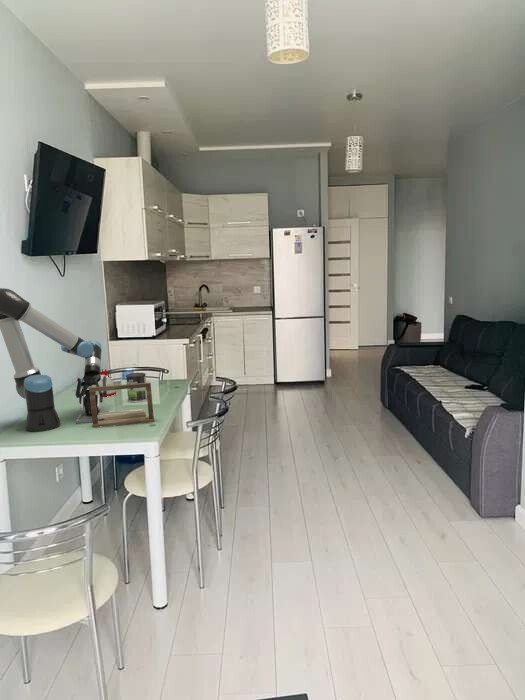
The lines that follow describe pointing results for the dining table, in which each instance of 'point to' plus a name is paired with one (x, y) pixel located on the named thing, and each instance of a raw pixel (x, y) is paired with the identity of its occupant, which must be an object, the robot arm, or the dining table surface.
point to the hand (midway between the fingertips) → (90, 408)
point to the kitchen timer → (108, 383)
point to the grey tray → (85, 418)
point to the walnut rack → (116, 387)
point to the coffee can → (136, 393)
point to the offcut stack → (121, 416)
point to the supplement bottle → (89, 404)
